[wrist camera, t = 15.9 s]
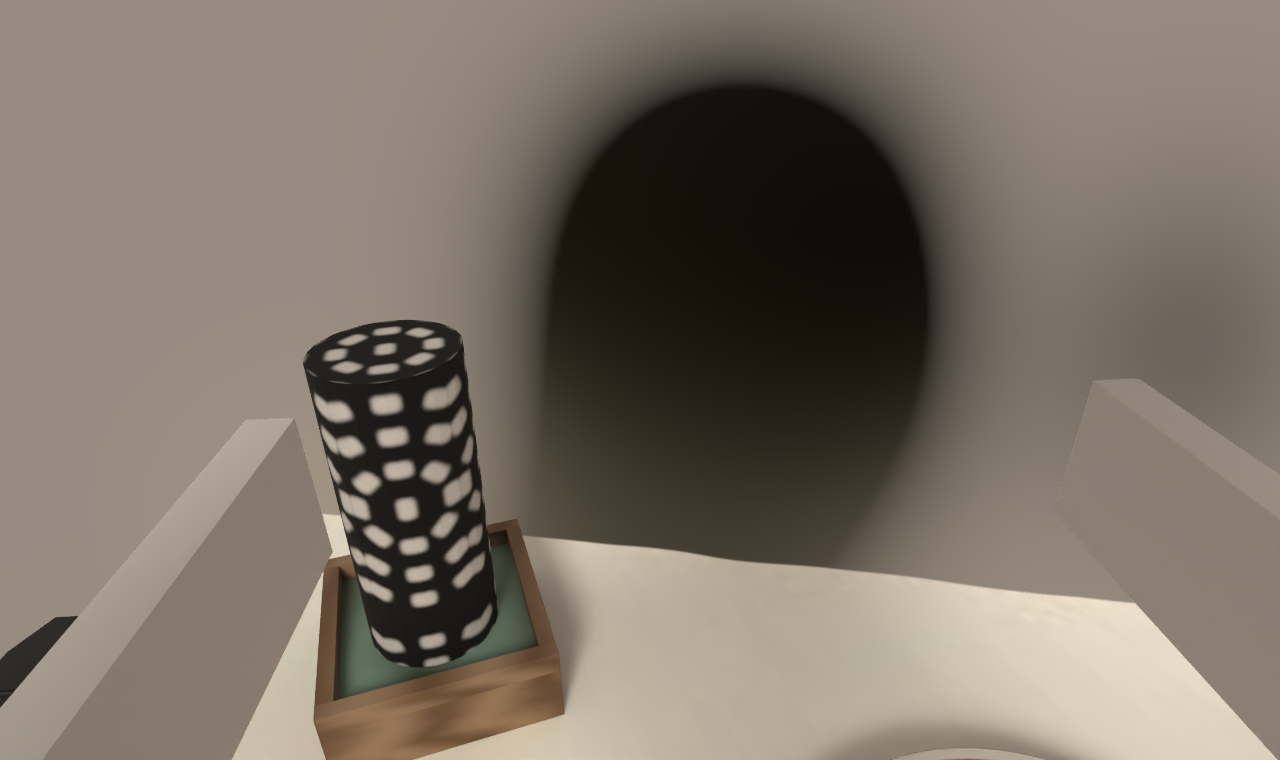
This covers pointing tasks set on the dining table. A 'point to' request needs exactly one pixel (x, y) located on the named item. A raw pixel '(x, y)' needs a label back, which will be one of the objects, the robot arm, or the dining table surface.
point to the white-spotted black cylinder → (407, 485)
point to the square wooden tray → (434, 670)
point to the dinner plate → (966, 755)
